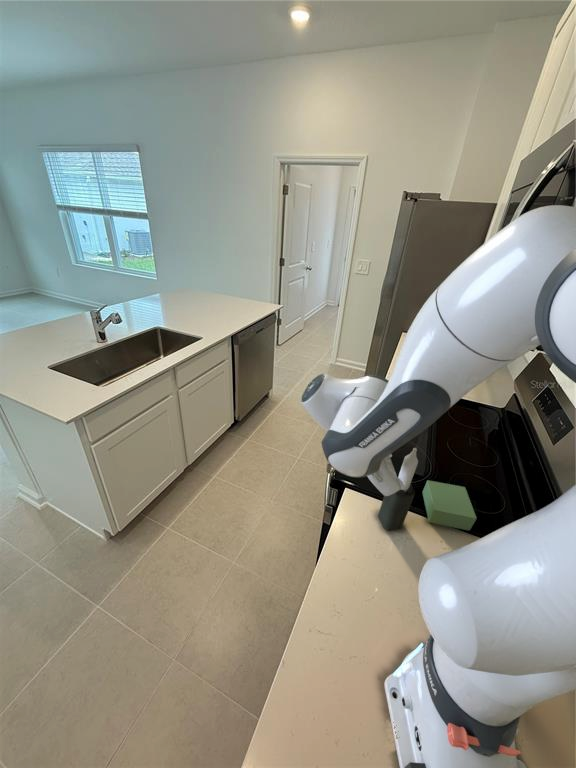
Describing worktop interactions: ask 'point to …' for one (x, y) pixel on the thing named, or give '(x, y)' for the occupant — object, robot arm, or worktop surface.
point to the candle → (399, 496)
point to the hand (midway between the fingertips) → (394, 470)
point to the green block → (448, 505)
